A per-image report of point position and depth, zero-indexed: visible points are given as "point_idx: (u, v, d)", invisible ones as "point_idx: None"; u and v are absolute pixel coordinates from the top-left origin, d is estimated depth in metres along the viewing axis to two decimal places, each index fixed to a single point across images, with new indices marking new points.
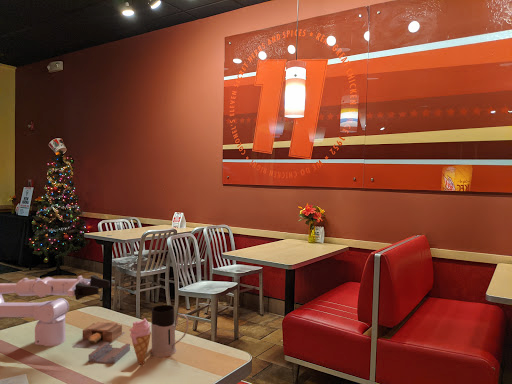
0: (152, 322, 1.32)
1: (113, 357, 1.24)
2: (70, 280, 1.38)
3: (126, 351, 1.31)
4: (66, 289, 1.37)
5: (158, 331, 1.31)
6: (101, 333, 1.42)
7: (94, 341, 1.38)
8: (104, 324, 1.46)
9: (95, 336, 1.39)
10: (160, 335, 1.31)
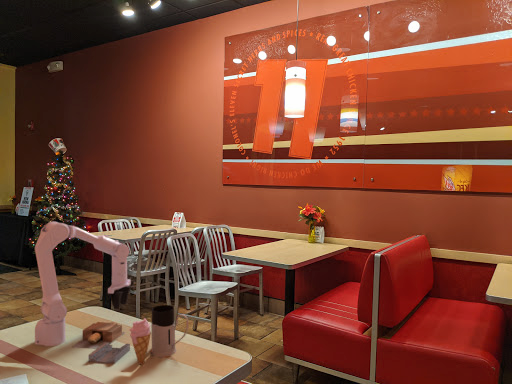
0: (152, 322, 1.32)
1: (113, 357, 1.24)
2: (124, 277, 1.56)
3: (126, 351, 1.31)
4: (116, 277, 1.54)
5: (158, 331, 1.31)
6: (100, 333, 1.42)
7: (94, 341, 1.38)
8: (104, 324, 1.46)
9: (94, 336, 1.39)
10: (160, 335, 1.31)
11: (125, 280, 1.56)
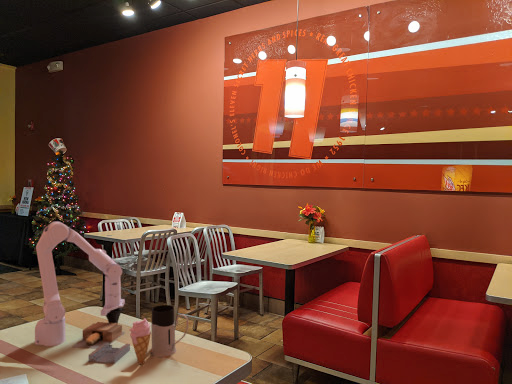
0: (152, 322, 1.32)
1: (113, 357, 1.24)
2: (118, 298, 1.51)
3: (126, 351, 1.31)
4: (109, 298, 1.49)
5: (158, 331, 1.31)
6: (97, 333, 1.41)
7: (91, 342, 1.37)
8: (104, 324, 1.46)
9: (91, 337, 1.38)
10: (160, 335, 1.31)
11: (118, 301, 1.51)
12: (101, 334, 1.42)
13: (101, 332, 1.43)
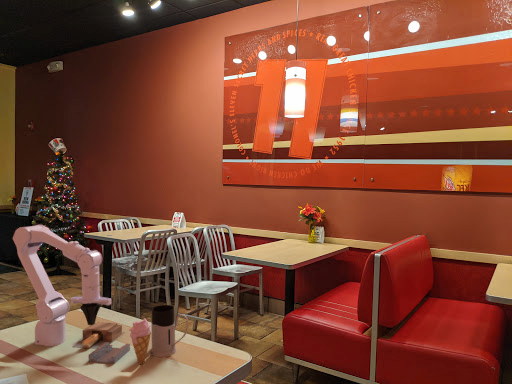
0: (152, 322, 1.32)
1: (113, 357, 1.24)
2: (83, 292, 1.35)
3: (126, 351, 1.31)
4: None
5: (158, 331, 1.31)
6: (94, 337, 1.38)
7: (88, 345, 1.35)
8: (104, 324, 1.46)
9: (88, 340, 1.35)
10: (160, 335, 1.31)
11: (85, 296, 1.35)
12: (98, 338, 1.40)
13: (98, 335, 1.40)
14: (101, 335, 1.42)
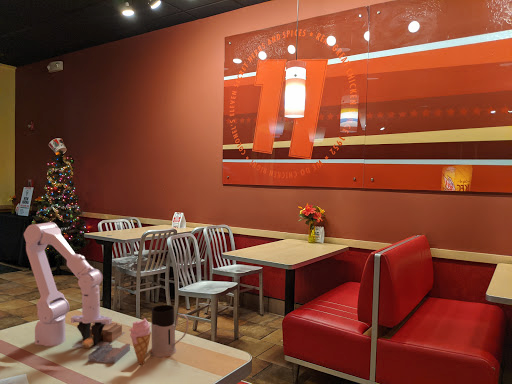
0: (152, 322, 1.32)
1: (113, 357, 1.24)
2: (84, 312, 1.35)
3: (126, 351, 1.31)
4: None
5: (158, 331, 1.31)
6: None
7: (88, 345, 1.35)
8: None
9: (89, 340, 1.35)
10: (160, 335, 1.31)
11: (85, 315, 1.35)
12: None
13: None
14: (101, 335, 1.42)
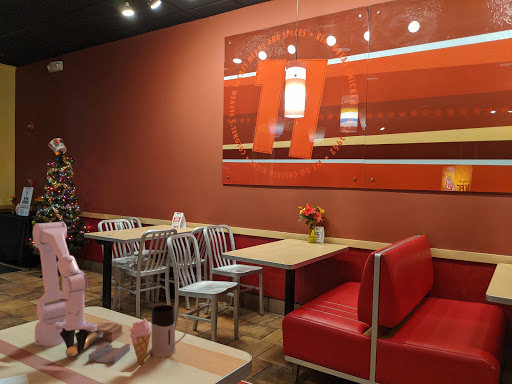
0: (152, 322, 1.32)
1: (113, 357, 1.24)
2: (67, 318, 1.26)
3: (126, 351, 1.31)
4: None
5: (158, 331, 1.31)
6: None
7: (72, 354, 1.26)
8: (104, 324, 1.46)
9: (73, 348, 1.26)
10: (160, 335, 1.31)
11: (68, 322, 1.26)
12: None
13: None
14: (87, 343, 1.33)
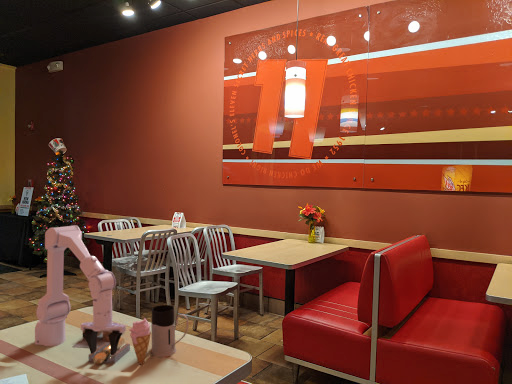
0: (152, 322, 1.32)
1: (113, 357, 1.24)
2: (95, 318, 1.23)
3: (126, 351, 1.31)
4: None
5: (158, 331, 1.31)
6: (107, 351, 1.26)
7: (100, 361, 1.22)
8: None
9: (101, 355, 1.23)
10: (160, 335, 1.31)
11: (96, 322, 1.23)
12: None
13: None
14: None
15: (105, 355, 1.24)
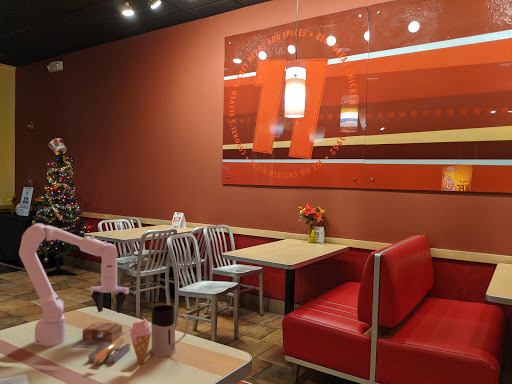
0: (152, 322, 1.32)
1: (113, 357, 1.24)
2: (103, 282, 1.45)
3: (126, 351, 1.31)
4: None
5: (158, 331, 1.31)
6: (107, 351, 1.26)
7: (100, 361, 1.22)
8: (104, 324, 1.46)
9: (101, 355, 1.23)
10: (160, 335, 1.31)
11: (104, 285, 1.45)
12: (111, 352, 1.27)
13: (111, 349, 1.28)
14: (114, 349, 1.29)
15: (105, 355, 1.24)
